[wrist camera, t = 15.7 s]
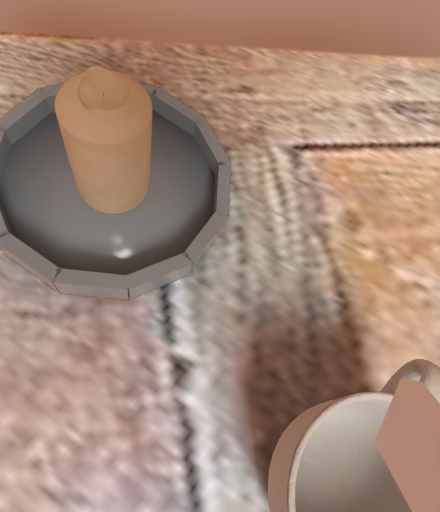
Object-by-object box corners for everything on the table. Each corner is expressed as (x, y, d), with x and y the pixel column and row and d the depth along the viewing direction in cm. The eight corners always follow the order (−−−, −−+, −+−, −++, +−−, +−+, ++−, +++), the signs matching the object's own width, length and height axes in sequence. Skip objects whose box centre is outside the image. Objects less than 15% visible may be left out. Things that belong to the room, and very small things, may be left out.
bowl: (227, 119, 36) (233, 100, 34) (218, 308, 29) (225, 299, 27) (22, 84, 33) (13, 59, 31) (-43, 283, 26) (-60, 271, 24)
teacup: (342, 628, 23) (434, 724, 16) (214, 487, 25) (246, 517, 18) (447, 441, 29) (552, 450, 22) (338, 335, 30) (401, 309, 23)
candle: (69, 161, 31) (39, 54, 21) (138, 149, 32) (138, 44, 23) (85, 222, 29) (61, 134, 20) (157, 206, 31) (165, 118, 21)
